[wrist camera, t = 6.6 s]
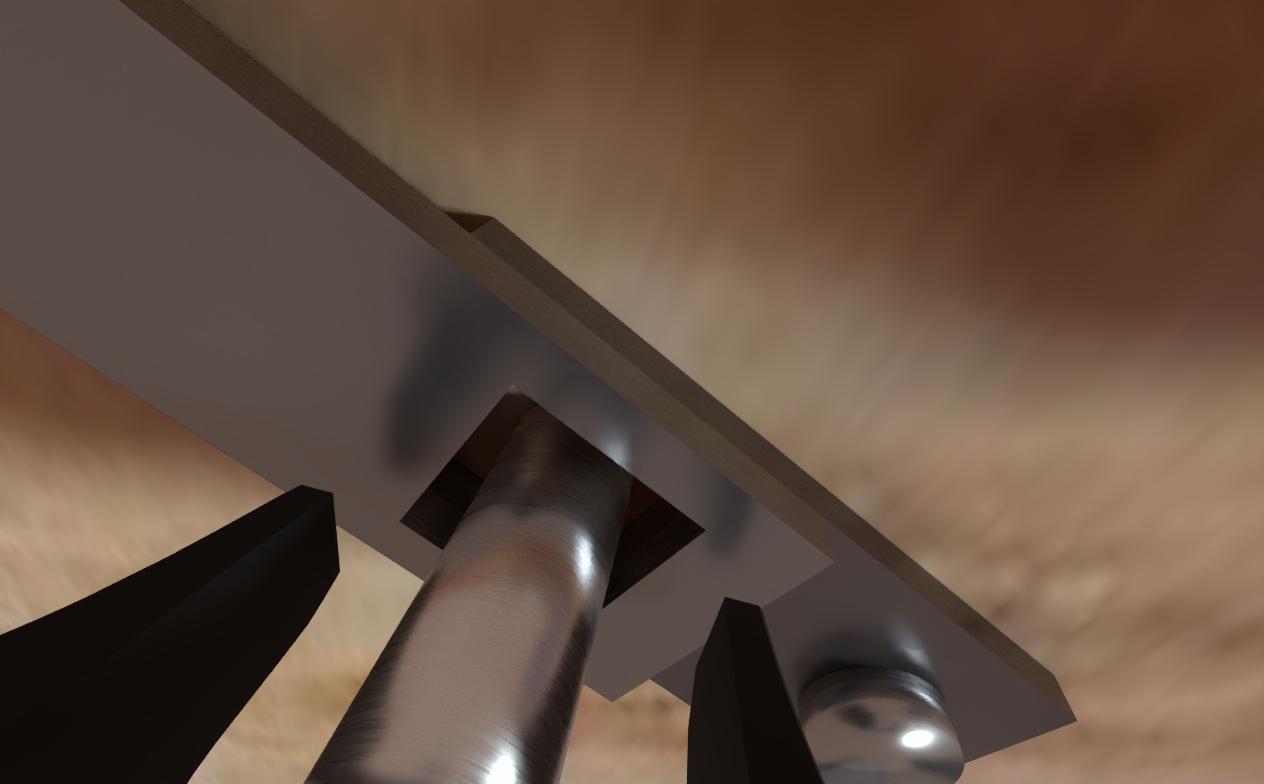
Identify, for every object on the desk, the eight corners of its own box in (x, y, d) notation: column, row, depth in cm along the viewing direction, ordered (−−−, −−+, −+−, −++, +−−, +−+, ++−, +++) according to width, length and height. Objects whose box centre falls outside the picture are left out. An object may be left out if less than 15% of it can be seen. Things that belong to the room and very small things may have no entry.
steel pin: (649, 418, 13) (554, 812, 6) (623, 515, 15) (523, 918, 8) (520, 384, 13) (286, 736, 6) (508, 485, 15) (308, 856, 8)
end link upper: (819, 484, 13) (834, 562, 11) (628, 622, 17) (612, 702, 15) (72, -127, 10) (-108, -178, 8) (17, 203, 13) (-120, 231, 11)
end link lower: (1054, 675, 15) (1104, 773, 13) (838, 766, 18) (851, 855, 16) (494, 217, 11) (440, 252, 9) (351, 432, 15) (287, 493, 13)
